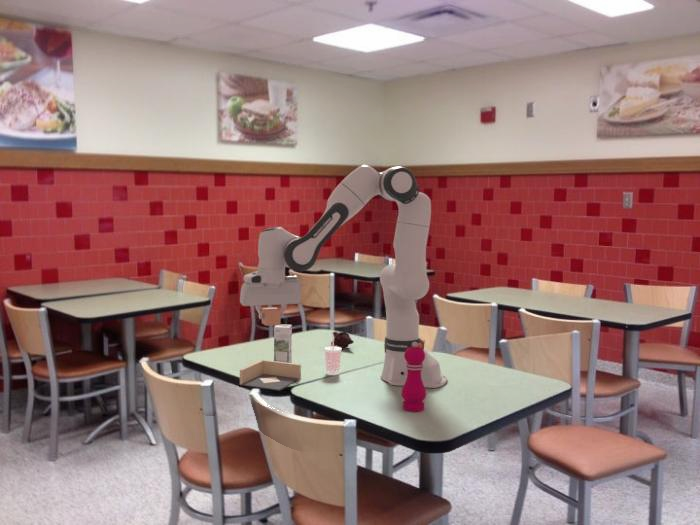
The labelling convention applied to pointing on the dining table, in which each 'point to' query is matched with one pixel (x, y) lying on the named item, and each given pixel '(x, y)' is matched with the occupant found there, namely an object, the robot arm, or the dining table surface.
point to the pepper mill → (414, 380)
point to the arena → (270, 375)
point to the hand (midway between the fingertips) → (270, 318)
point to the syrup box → (283, 343)
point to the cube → (271, 316)
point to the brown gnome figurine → (342, 339)
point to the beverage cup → (332, 359)
